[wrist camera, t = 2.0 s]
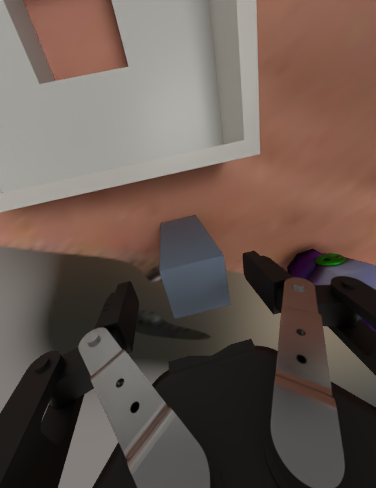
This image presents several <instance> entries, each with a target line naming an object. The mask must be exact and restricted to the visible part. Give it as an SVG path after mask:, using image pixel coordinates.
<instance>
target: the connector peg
mask: <svg viewBox="0 0 376 488" xmlns="http://www.w3.org/2000/svg"><path fill="white" fill-rule="evenodd" d="M159 272H160V275H161V278H162V281H163V284H164V287H165V290H166V294H167V297H168V300H169V303H170V306H171V309H172V312H173V315H174V319H177V318H180V317H184V316H188V315H192V314H196V313H200V312H204V311H208V310H212V309H216V308H219V307H223V306H227V305H230V299H229V291H228V283H227V276H226V268H225V260H224V255H223V254H222V252H221V251H220V249H219V248H218V246H217V245H216V244H215V242H214V241H213V239H212V238H211V236H210V235H209V234H208V232H207V231H206V229H205V228H204V226H203V225H202V224H201V222H200V221H199V219H198V218H197V216H196V215H194V216H190V217H185V218H181V219H177V220H173V221H168V222H164V223H161V234H160V266H159Z"/></svg>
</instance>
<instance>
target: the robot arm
mask: <svg viewBox="0 0 376 488" xmlns="http://www.w3.org/2000/svg"><path fill="white" fill-rule="evenodd" d="M243 268H244V275H245V278H246V280H247V281H248V282H249V283H250V285H251V286H252V287H253V289H254V290H255V291H256V293H257V294H258V295H259V296H260V298H261V299H262V300H263V302H264V303H265V304H266V305H267V307H268V308H269V309H270V311H271V312H272V313H273V314H277V313H281V320H280V331H279V342H278V351H276V350H274V349H271V348H268V347H264V346H254V344H253V342H252V340H251V339H249V340H245V341H242V342H239V343H235V344H231V345H230V346H228V347H226V348H224V349H223V350H221V351H219V352H218V353H216V354H214V355H212V356H188V357H184V358H180V359H177V360H174V361H170V362H169V370H168V371H166V372H165V373H163V374H162V375H161V376H160V377H159V378H158V379H157V380H156V381H155V382H154V383H153V384H152V385H151V384H150V382H149V381H148V380H147V378H146V377H145V376H144V375H143V373H142V372H141V371H140V369H139V368H138V367H137V366H136V364H135V363H134V362H133V360H132V359H131V358H130V356H129V355H128V354H127V353H130V352H132V350H133V344H134V337H135V330H136V324H137V317H138V310H139V301H138V298H137V295H136V293H135V290H134V288H133V286H132V283H131V282H130V281H128V282H124V283H120V284H118V286H117V289H116V292H115V293H112V294H111V295H110V296H109V297H108V298H107V300H106V302H105V304H104V307H103V309H102V312H101V314H100V317H99V319H98V322H97V324H96V327H95V329H94V330H92V331H91V332H89V333H88V334H87V335H85V336H84V338H83V339H82V340H81V342H80V344H79V347H77V348H75V349H73V350H72V351H70V352H68V353H66V354H64V355H61V354H60V353H59V352H58V351H50V352H47V353H45V354H44V355H42V356H40V357H39V358H38V359H36V360H35V361H34V362H33V363H32V364H31V365H30V367H29V368H28V369H27V370H26V372H25V374H24V375H23V377H22V379H21V381H20V382H19V384H18V385H17V387H16V389H15V390H14V392H13V393H12V395H11V397H10V398H9V400H8V402H7V403H6V405H5V407H4V408H3V410H2V411H1V413H0V488H58V485H59V482H60V478H61V474H62V471H63V467H64V464H65V461H66V457H67V453H68V450H69V446H70V443H71V439H72V436H73V432H74V429H75V425H76V422H77V418H78V415H79V411H80V408H81V404H82V401H83V397H84V394H85V393H87V392H88V391H90V390H92V389H93V388H94V389H95V391H96V393H97V395H98V398H99V400H100V402H101V404H102V406H103V409H104V411H105V413H106V415H107V417H108V420H109V422H110V424H111V426H112V428H113V431H114V433H115V435H116V437H117V439H118V444H117V446H116V447H115V449H114V451H113V453H112V454H111V456H110V458H109V460H108V462H107V463H106V465H105V467H104V468H103V470H102V472H101V474H100V475H99V477H98V479H97V480H96V482H95V484H94V486H93V487H92V488H376V407H374V406H372V405H371V404H369V403H367V402H365V401H364V400H362V399H360V398H358V397H356V396H355V395H353V394H352V393H350V392H348V391H346V390H345V389H343V388H341V387H340V386H338V385H336V384H334V383H333V382H331V381H330V374H329V367H328V360H327V353H326V345H325V338H324V331H323V326H328V327H329V328H330V329H331V330H332V331H333V332H334V333H335V334H336V335H337V336H338V337H339V338H340V339H341V340H342V341H343V342H344V343H345V344H346V346H347V347H348V348H349V349H350V350H351V351H352V352H353V353H354V354H355V355H356V356H357V357H358V358H359V359H360V360H361V361H362V362H363V363H364V364H365V365H366V366H367V367H368V368H369V369H370V370H371V371H372V372H373V373H374V374H375V375H376V332H374V331H373V330H372V329H371V328H370V327H368V326H367V325H366V324H365V323H363V322H362V321H361V320H360V319H359V318H360V317H361V318H363V319H364V320H365V321H366V322H368V323H369V324H370V325H371V326H372V327H373V328H374V329H375V330H376V290H375V289H374V288H372V287H370V286H369V285H367V284H365V283H364V282H362V281H360V280H358V279H356V278H352V277H348V276H337V277H334V278H332V279H331V283H330V285H313V283H311V282H310V281H308V280H306V279H303V278H297V277H295V278H294V277H293V276H291V275H290V274H289V273H288V272H286V271H285V270H284V269H283V268H282V267H280V266H279V265H278V264H277V263H275V262H274V261H273V260H272V259H270V258H268V257H266V256H260V255H259V254H258V253H256V252H255V251H250V252H246V253H243ZM48 403H49V406H48ZM47 406H48V408H47ZM46 408H47V410H46ZM45 410H46V413H45V415H44V412H45ZM43 415H44V417H43ZM42 418H43V419H42ZM41 421H42V422H41Z"/></svg>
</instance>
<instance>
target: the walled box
mask: <svg viewBox="0 0 376 488" xmlns="http://www.w3.org/2000/svg"><path fill="white" fill-rule="evenodd" d="M112 4H113V8H114V12H115V16H116V20H117V24H118V27H119V31H120V35H121V39H122V43H123V47H124V51H125V55H126V58H127V62H128V66H129V67H124V68H119V69H114V70H108V71H103V72H98V73H93V74H88V75H83V76H78V77H73V78H68V79H63V80H58V81H55V79H54V77H53V74H52V72H51V69H50V67H49V64H48V62H47V59H46V57H45V54H44V52H43V49H42V47H41V44H40V42H39V39H38V37H37V34H36V32H35V29H34V27H33V24H32V22H31V19H30V17H29V14H28V12H27V9H26V7H25V4H24V2H23V0H0V212H4V211H8V210H13V209H17V208H21V207H26V206H30V205H35V204H39V203H44V202H48V201H53V200H57V199H62V198H66V197H71V196H75V195H80V194H84V193H89V192H93V191H97V190H102V189H106V188H111V187H115V186H120V185H124V184H129V183H133V182H138V181H142V180H147V179H151V178H156V177H160V176H165V175H169V174H174V173H178V172H182V171H187V170H191V169H196V168H200V167H205V166H209V165H214V164H218V163H223V162H227V161H232V160H236V159H241V158H245V157H250V156H254V155H258V154H260V132H259V91H258V49H257V8H256V0H112Z"/></svg>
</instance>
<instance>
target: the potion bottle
mask: <svg viewBox="0 0 376 488" xmlns="http://www.w3.org/2000/svg"><path fill="white" fill-rule="evenodd" d="M287 268H288V273H289V274H290V275H291V276H293V277H294V278H295V277H297V278H303V279H306V280H308V281H310V282H311V283H313V285H330V283H331V279H332V278H334V277H337V276H348V277H352V278H356V279H358V280H360V281H362V282H364V283H365V284H367V285H369V286H370V287H372V288H374V289H375V290H376V266H375V265H373V264H369V263H365V262H361V261H357V260H353V259H350V258H346V257H344V256H342V255H339V254H333V253H329V254H326V253H324V254H322V253H319V252H317V251H316V250H314V249H311V250H308V251H305V252H302V253H299V254H297V255H296V257H295V258H294V259H293V260H292V262H291V263H290V264H289V266H288V267H287ZM359 319H360V320H361V321H362V322H363V323H365V324H366V325H367V326H368V327H370V328H371V329H372V330H373V331H374V332H376V330H375V329H374V328H373V327H372V326H371V325H370V324H369V323H368V322H366V321H365V320H364V319H363V318H361V317H360V318H359Z"/></svg>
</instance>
